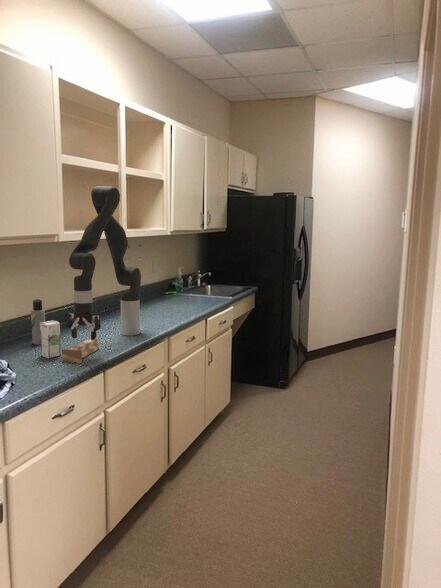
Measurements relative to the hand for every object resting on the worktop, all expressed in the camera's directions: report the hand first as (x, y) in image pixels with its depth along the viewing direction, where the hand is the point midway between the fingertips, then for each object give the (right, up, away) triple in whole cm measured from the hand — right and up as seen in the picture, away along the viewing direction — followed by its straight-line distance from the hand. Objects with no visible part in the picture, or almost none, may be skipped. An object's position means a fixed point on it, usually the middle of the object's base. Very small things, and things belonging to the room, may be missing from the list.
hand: (83, 338), depth 191 cm
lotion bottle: (-25, -4, +16) cm, 30 cm away
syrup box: (-13, -7, -2) cm, 15 cm away
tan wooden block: (0, -7, +2) cm, 7 cm away
